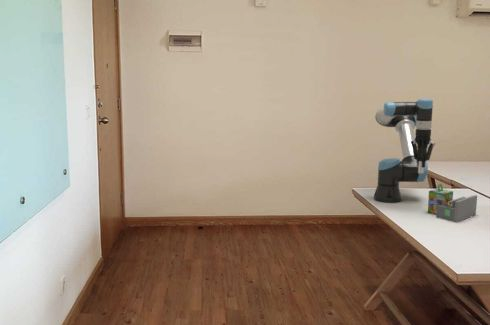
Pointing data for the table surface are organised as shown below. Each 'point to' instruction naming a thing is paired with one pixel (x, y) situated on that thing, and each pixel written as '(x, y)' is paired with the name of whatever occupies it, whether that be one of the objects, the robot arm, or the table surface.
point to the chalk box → (439, 199)
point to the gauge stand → (458, 209)
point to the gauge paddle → (452, 202)
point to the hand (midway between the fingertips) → (420, 173)
